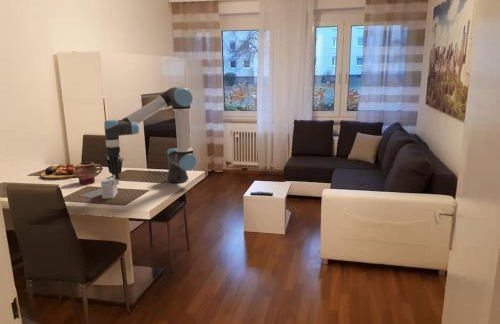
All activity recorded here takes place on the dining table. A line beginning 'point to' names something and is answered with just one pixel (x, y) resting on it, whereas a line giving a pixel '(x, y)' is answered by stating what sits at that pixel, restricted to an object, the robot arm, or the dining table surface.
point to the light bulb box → (108, 188)
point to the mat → (92, 194)
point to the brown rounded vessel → (86, 172)
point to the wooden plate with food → (59, 172)
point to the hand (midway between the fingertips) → (116, 184)
